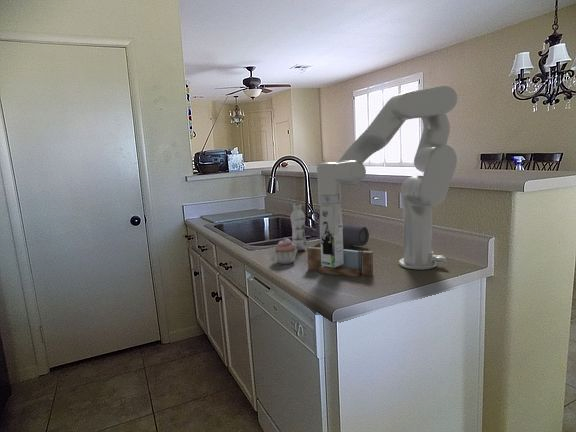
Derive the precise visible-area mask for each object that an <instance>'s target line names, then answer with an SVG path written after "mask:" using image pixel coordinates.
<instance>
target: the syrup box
mask: <svg viewBox="0 0 576 432" xmlns="http://www.w3.org/2000/svg"><path fill="white" fill-rule="evenodd" d="M338 225H339V232H338V233H337V234H335V235H333V234H331V235H332V239H331V243H332V249H333V254H332V255H328V254H323V243H322V237H321V230H320V239H319V240H320V247H321V265H322V266H328V267H332V268H335V267H337V266H340V265H342V264H344V256H343V249H344V246H343V227H342V223H339V224H338ZM326 233H330V232H326ZM328 238H329V236H328Z"/></svg>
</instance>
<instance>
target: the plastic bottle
mask: <svg viewBox="0 0 576 432" xmlns="http://www.w3.org/2000/svg"><path fill="white" fill-rule="evenodd" d="M292 209H293V210H292V211H291V213H290V217H289V218H290V222H291V229H292V230H291V231H292V233H291V234H292V236H291V242H292V243H294V245H295V248H296V249H298V251H303V250H306V248H307V239H306V233H305V221H306V215H305V213H304V211H303V210H302V203H293V204H292Z"/></svg>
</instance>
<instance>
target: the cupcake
mask: <svg viewBox="0 0 576 432" xmlns="http://www.w3.org/2000/svg"><path fill="white" fill-rule="evenodd" d="M298 251H299V250H298V249H296V248H295V245H294V243H292V239H290V238H288V237H285V236H284V237H283V239H282V240H279V241H278V243H277V244H276V245H275V249H274V250H273V253H274V255H275V256H276V259H277V262H278V264H280V265H292V264H293V263H295V261H296V257H297V253H298Z"/></svg>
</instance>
